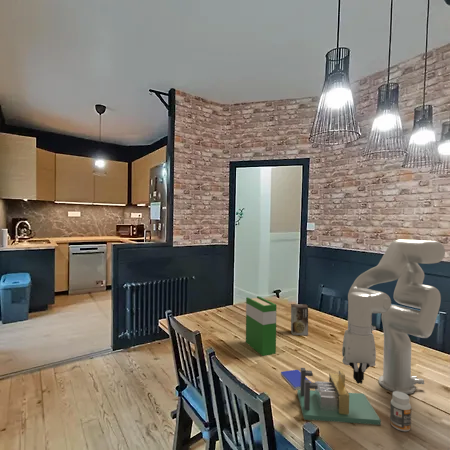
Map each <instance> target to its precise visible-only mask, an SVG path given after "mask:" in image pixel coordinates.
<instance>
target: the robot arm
mask: <svg viewBox="0 0 450 450" xmlns="http://www.w3.org/2000/svg"><path fill="white" fill-rule="evenodd" d="M445 255H446V249H445V246H444V244H443V243H441V242H440V241H436V240H423V239H422V240H421V239H420V240H419V239H396V240H393V241H392V242H390V244H388V247H387V249H386V250H385V252H384V254H383V255H382V257H381V258H380V260H379V262H378V264H377V265H376V266H374V267H371V268H369V269H368V270H366V271H364V272H362V273H361V274H360V275H358V276H357V277H356V278H355V280H354V281H353V283H352V284H351V286H350V288H349V290H348V293H347V301H348V305H347V306H348V308H347V329H346V330H345V331H344V333H343V339H342V340H343V341H342V348H341V353H342V357H343V358H342V364H343V365H345V366H348V367H349V366H350V368H352V369H353V372H352V373H353V374H352V376H353V380H354V381H355V382H356V384H360V385H362V384H363V381H364V379H365V372H366V371H367V369H369V367H375V366H376V360H377V351H376V350H377V349H376V342H375V335H374V333H373V331H376V330H377V326H375V325H373V324H372V323H373V322H372V321H373V319H372V318H373V314H381V322H382V327H383V358H382V359H383V363H382V365H383V368H382V370H383V371H382V372H383V373H382V375H380V376H379V377H378V383H379V385H380V386H382V388H384V389H386V390H388V391H389V392H392V393H393V392H395V391H399V392H403V393H405V394H407V395H410V394H413V393H415V392H416V386H415V385H425V379H424V378H418V377H417V375H412V341H411V339H410V337H409V335H411V336H414V337H418V338H422V339H428V338H429V337H430V336H431V335H432V333H433V331H434V328H435V325H436V321H437V318H438V314H439V310H440V308H441V307H440V306H441V300H442V295H441V292H440V291H439V289H438V288H436V287H435V286H433V285H428V284H423V283H424V280H425V271H424V270H423V269H422V267H421V266H420V264H427V265H431V264H437V263H438V264H439V263H440V262H441V261H442V260H443V259H444V257H445ZM393 281H397V282H396V283H395V284H396V285H395V288H394V291H393V299H394V301H395V302H396V303H397V304H399V305H396V304H392V299H391V297H390V296H389V294H387V293H386V292H383V291H380V290H374V289H371V287H373V286H375V285H378V284H383V283H384V284H385V283H389V282H393ZM400 305H401V306H400ZM402 305H403V306H402ZM405 306H406V307H405ZM411 307H412V308H411ZM414 308H415V309H414ZM417 309H418V310H417ZM358 365H359V366H358Z"/></svg>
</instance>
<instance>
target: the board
mask: <svg viewBox="0 0 450 450" xmlns="http://www.w3.org/2000/svg"><path fill="white" fill-rule="evenodd" d="M300 372H301V376H300V389H296V391H297V392H296V393H297V397H298V400H299V405H300V408H301V413H302V416H303V420H307V421H320V422H321V421H322V422H323V421H324V422H334V423H335V422H337V423H348V424H349V423H352V424H366V425H379V426H381V424H382V423H381V422H382V420H381V418H380V417H379V415H378V414H377V412H376V410H375V409H374V407H373V406H372V404H371V403H370V401H369V399H368V398H367V397H366V395H365V393H362V392H361V393H360V392H358V393H357V392H348V393H349V415H347V414H339V412H337V411H322V410H321V409H320V407H319V404H318V401H317V398H316V395H315V389H318V386H317V383H315V382H312V381H310V379H308V380H306V378H307V377H314V374H313V373H314V372H313V370H309V369H308V370H307V369H306V368H305V367H300ZM312 389H313V390H312Z"/></svg>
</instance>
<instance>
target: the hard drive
mask: <svg viewBox="0 0 450 450" xmlns="http://www.w3.org/2000/svg"><path fill="white" fill-rule="evenodd" d="M280 374H281V376H282V377H283V378H284V380H286V381H287V383H289V385H290V386H291V387H292V388H293V390H296V391H297V390H300V376H301V370H300V369H292V370H285V371H281V372H280ZM306 380H309V378H307V377H306Z"/></svg>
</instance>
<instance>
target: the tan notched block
mask: <svg viewBox="0 0 450 450" xmlns="http://www.w3.org/2000/svg"><path fill="white" fill-rule="evenodd" d="M328 375H329V376H328V382H333V384H334V386H335V388H336V390H337V392H338V394H339V414H347V415H349V393H350V392H349V391H348V390H347V388H346V374H345V373H344V371H343V369H341V368H339V369H338V373H332V372H329V374H328Z"/></svg>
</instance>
